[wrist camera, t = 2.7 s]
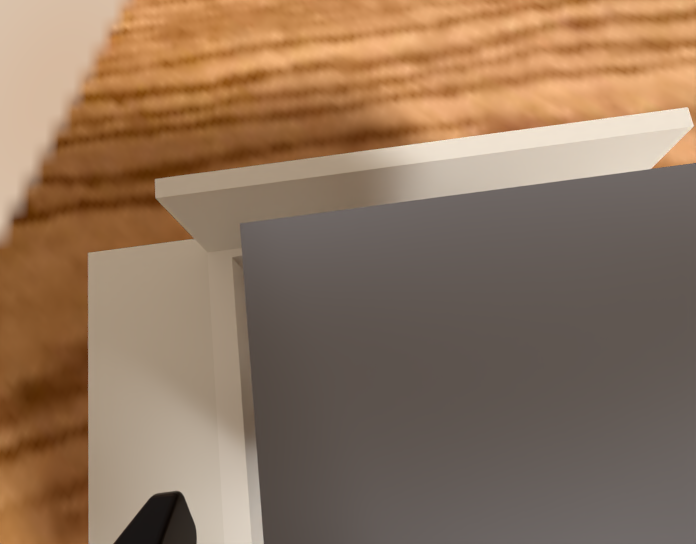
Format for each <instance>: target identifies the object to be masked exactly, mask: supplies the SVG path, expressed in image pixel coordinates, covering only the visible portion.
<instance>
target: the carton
mask: <svg viewBox="0 0 696 544" xmlns="http://www.w3.org/2000/svg"><path fill="white" fill-rule="evenodd" d="M693 127H694V126H693V122H692V119H691V116H690V113H689V109H688V107H687V108H680V109H672V110H665V111H657V112H650V113H642V114H635V115H628V116H620V117H613V118H605V119H598V120H590V121H583V122H575V123H568V124H561V125H553V126H546V127H538V128H531V129H523V130H516V131H508V132H501V133H494V134H486V135H479V136H471V137H464V138H456V139H449V140H441V141H434V142H427V143H419V144H412V145H404V146H397V147H389V148H382V149H374V150H367V151H360V152H352V153H345V154H337V155H330V156H322V157H315V158H308V159H300V160H293V161H285V162H278V163H270V164H263V165H255V166H248V167H241V168H233V169H226V170H218V171H211V172H203V173H196V174H188V175H181V176H174V177H166V178H159V179H155V198H156V199H157V200H158V201H159V203H160V204H161V205H162V206H163V207H164V208H165V209H166V210H167V211H168V212H169V213H170V214H171V215H172V216H173V217H174V218H175V219H176V220H177V221H178V222H179V223H180V224H181V225H182V226H183V228H184V229H185V230H186V231H187V232H188V233H189V234H190V235H191V236H192V237H193V238H194V239H188V240H181V241H173V242H166V243H158V244H151V245H143V246H135V247H128V248H120V249H113V250H105V251H98V252H90V253H88V544H113V543H114V542H115V541H116V539H117V538H118V537H119V536H120V534H121V533H122V532H123V531H124V529H125V528H126V527H127V526H128V524H129V523H130V522H131V521H132V519H133V518H134V517H135V516H136V514H137V513H138V512H139V511H140V509H141V508H142V507H143V506H144V504H145V503H146V502H147V501H148V499H149V498H150V497H151V496H153V495H154V494H156V493H162V492H170V491H180V492H181V493H182V494H183V495H184V497H185V500H186V502H187V505H188V508H189V510H190V513H191V515H192V518H193V521H194V523H195V526H196V533H197V544H264V540H263V527H262V513H261V500H260V487H259V473H258V460H257V446H256V433H255V420H254V406H253V393H252V380H251V366H250V353H249V339H248V326H247V313H246V299H245V286H244V273H243V259H242V246H241V232H240V223H247V222H255V221H262V220H270V219H277V218H285V217H292V216H300V215H307V214H315V213H323V212H330V211H338V210H345V209H353V208H360V207H368V206H375V205H383V204H391V203H398V202H406V201H413V200H421V199H428V198H436V197H444V196H451V195H459V194H466V193H474V192H481V191H489V190H496V189H504V188H512V187H519V186H527V185H534V184H542V183H549V182H557V181H564V180H572V179H580V178H587V177H595V176H602V175H610V174H617V173H625V172H632V171H640V170H648V169H651V168H652V167H653V166H654V165H655V164H656V163H657V162H658V161H659V160H660V159H661V158H662V157H663V156H664V155H665V154H666V153H667V152H668V151H669V150H670V149H671V148H672V147H673V146H674V145H675V144H676V143H677V142H678V141H679V140H680V139H681V138H682V137H683V136H684V135H685V134H686V133H687V132H688V131H689V130H691V129H692V128H693Z"/></svg>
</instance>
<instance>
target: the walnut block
mask: <svg viewBox="0 0 696 544" xmlns="http://www.w3.org/2000/svg"><path fill="white" fill-rule="evenodd" d="M240 232H241V246H242V259H243V273H244V286H245V299H246V313H247V326H248V339H249V353H250V366H251V380H252V393H253V406H254V420H255V433H256V446H257V460H258V473H259V487H260V500H261V513H262V527H263V540H264V544H696V163H693V164H685V165H678V166H670V167H663V168H655V169H648V170H640V171H632V172H625V173H617V174H610V175H602V176H595V177H587V178H580V179H572V180H564V181H557V182H549V183H542V184H534V185H527V186H519V187H512V188H504V189H496V190H489V191H481V192H474V193H466V194H459V195H451V196H444V197H436V198H428V199H421V200H413V201H406V202H398V203H391V204H383V205H375V206H368V207H360V208H353V209H345V210H338V211H330V212H323V213H315V214H307V215H300V216H292V217H285V218H277V219H270V220H262V221H255V222H247V223H240Z"/></svg>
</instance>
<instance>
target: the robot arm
mask: <svg viewBox="0 0 696 544" xmlns="http://www.w3.org/2000/svg"><path fill="white" fill-rule="evenodd" d="M113 544H197V533H196V526H195V523H194V521H193V518H192V515H191V513H190V510H189V508H188V505H187V502H186V500H185V497H184V495H183V494H182V493H181V492H180V491H170V492H162V493H156V494H154V495H153V496H151V497H150V498H149V499H148V501H147V502H146V503H145V504H144V506H143V507H142V508H141V509H140V511H139V512H138V513H137V514H136V516H135V517H134V518H133V519H132V521H131V522H130V523H129V524H128V526H127V527H126V528H125V529H124V531H123V532H122V533H121V534H120V536H119V537H118V538H117V539H116V541H115V542H114V543H113Z"/></svg>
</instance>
